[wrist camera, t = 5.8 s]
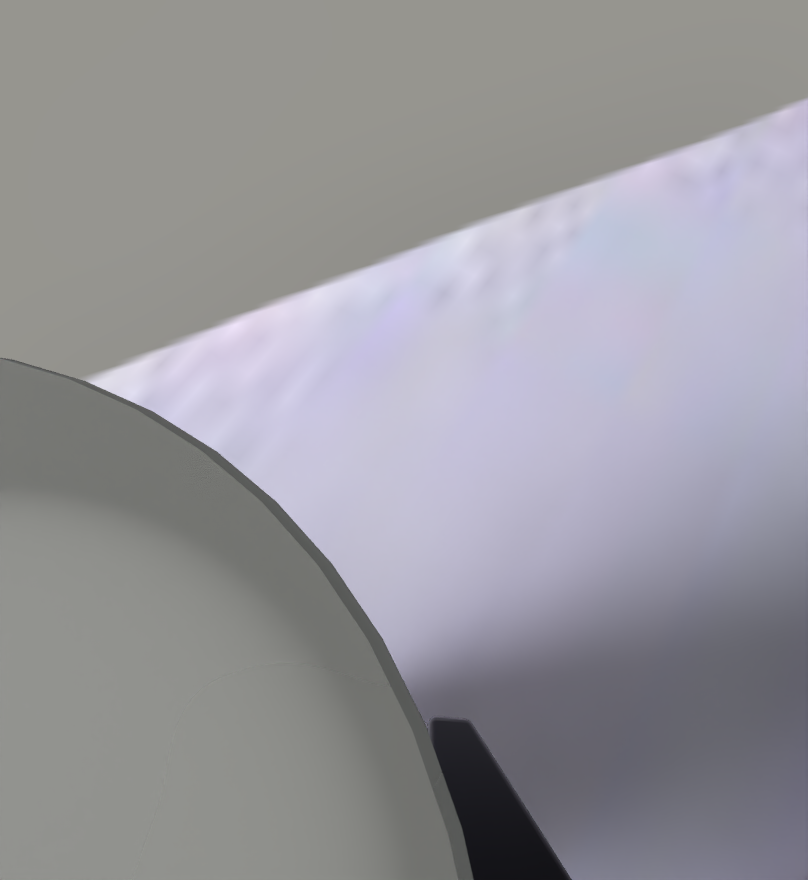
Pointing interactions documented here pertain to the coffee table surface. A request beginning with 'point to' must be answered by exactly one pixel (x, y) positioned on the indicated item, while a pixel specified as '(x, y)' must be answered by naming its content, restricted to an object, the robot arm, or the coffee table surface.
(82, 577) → the metal canister
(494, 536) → the coffee table surface
